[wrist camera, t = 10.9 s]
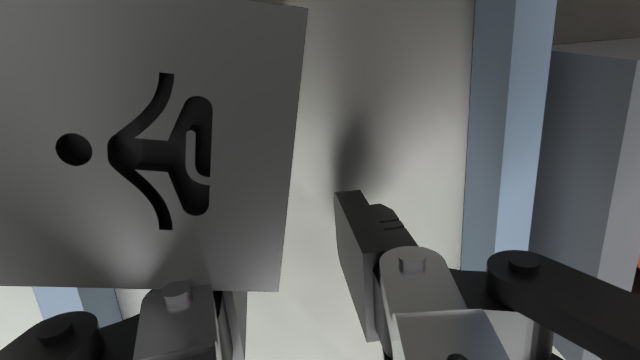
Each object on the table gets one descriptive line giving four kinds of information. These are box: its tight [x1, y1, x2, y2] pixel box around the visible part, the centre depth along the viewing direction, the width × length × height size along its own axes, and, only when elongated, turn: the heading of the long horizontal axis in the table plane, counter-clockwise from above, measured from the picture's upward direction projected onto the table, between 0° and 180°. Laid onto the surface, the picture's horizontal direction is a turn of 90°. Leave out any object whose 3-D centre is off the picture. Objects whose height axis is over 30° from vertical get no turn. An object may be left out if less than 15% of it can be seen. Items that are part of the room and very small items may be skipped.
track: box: [32, 0, 557, 328], centre depth 11 cm, size 13×22×2 cm, turn 4°
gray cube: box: [0, 0, 308, 292], centre depth 9 cm, size 5×5×5 cm
